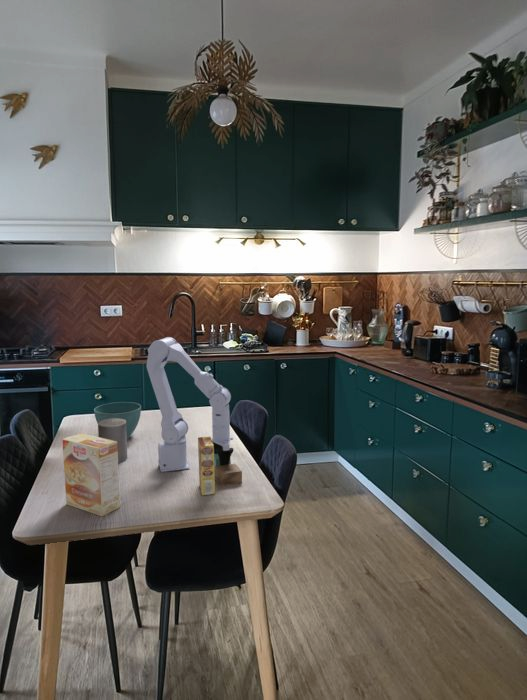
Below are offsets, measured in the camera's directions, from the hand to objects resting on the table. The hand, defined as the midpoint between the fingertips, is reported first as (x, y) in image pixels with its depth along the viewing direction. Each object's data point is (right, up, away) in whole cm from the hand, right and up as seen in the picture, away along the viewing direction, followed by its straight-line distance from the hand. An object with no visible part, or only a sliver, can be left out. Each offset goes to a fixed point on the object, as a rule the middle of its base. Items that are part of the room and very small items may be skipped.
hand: (221, 464), depth 172 cm
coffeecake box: (-34, -6, -26) cm, 44 cm away
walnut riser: (+3, -3, -8) cm, 9 cm away
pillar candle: (-39, -1, +10) cm, 41 cm away
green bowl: (-45, +3, +36) cm, 57 cm away
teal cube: (0, -2, 0) cm, 2 cm away
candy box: (-3, -4, -15) cm, 16 cm away
